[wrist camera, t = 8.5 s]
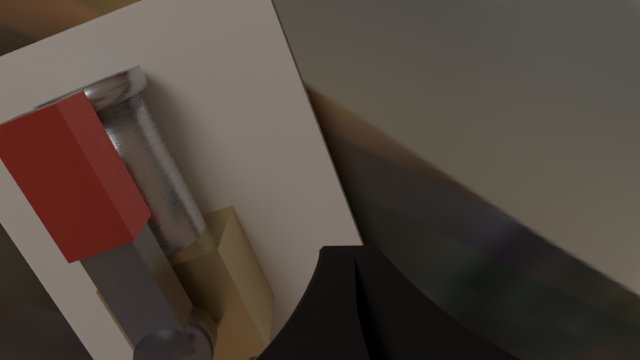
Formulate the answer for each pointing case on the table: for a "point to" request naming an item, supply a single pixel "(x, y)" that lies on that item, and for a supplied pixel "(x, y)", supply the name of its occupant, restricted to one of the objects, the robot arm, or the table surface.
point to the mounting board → (193, 141)
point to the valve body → (186, 223)
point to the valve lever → (104, 226)
